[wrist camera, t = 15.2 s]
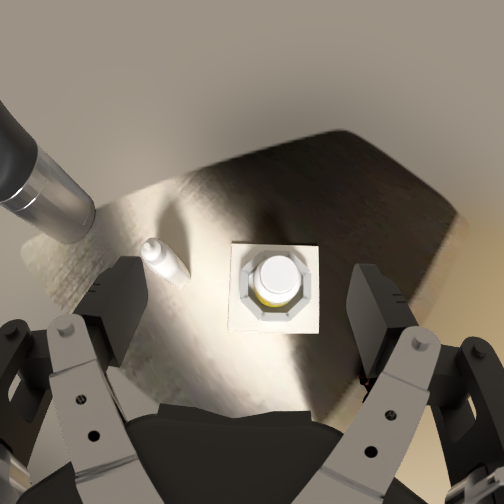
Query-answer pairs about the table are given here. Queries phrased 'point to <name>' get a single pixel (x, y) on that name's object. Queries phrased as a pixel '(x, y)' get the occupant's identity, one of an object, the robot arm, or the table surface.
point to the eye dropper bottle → (165, 262)
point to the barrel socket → (267, 318)
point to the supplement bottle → (276, 281)
